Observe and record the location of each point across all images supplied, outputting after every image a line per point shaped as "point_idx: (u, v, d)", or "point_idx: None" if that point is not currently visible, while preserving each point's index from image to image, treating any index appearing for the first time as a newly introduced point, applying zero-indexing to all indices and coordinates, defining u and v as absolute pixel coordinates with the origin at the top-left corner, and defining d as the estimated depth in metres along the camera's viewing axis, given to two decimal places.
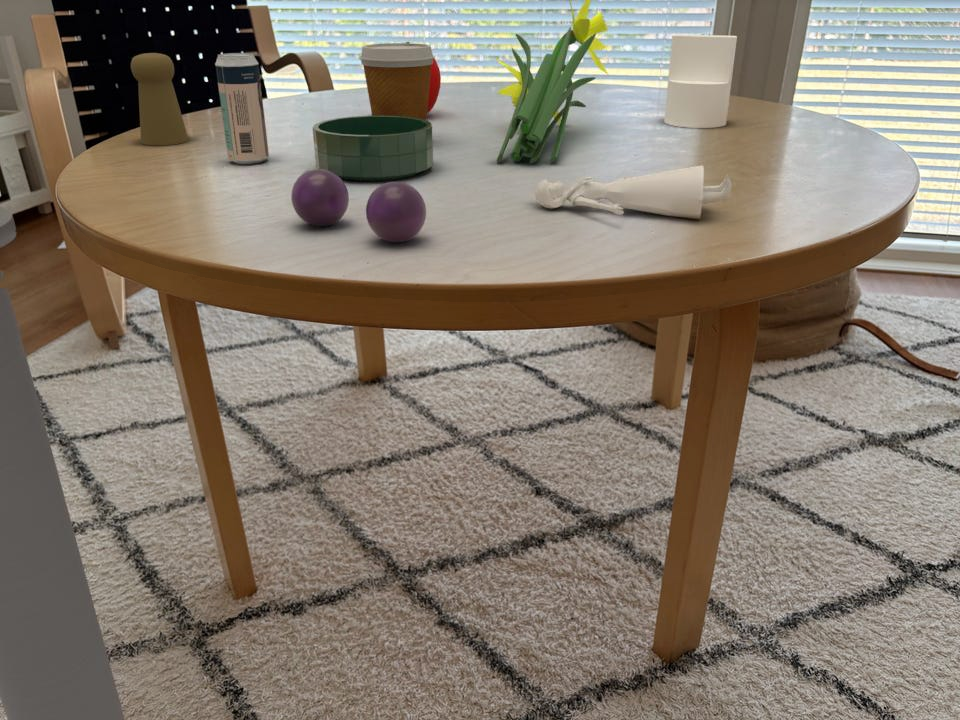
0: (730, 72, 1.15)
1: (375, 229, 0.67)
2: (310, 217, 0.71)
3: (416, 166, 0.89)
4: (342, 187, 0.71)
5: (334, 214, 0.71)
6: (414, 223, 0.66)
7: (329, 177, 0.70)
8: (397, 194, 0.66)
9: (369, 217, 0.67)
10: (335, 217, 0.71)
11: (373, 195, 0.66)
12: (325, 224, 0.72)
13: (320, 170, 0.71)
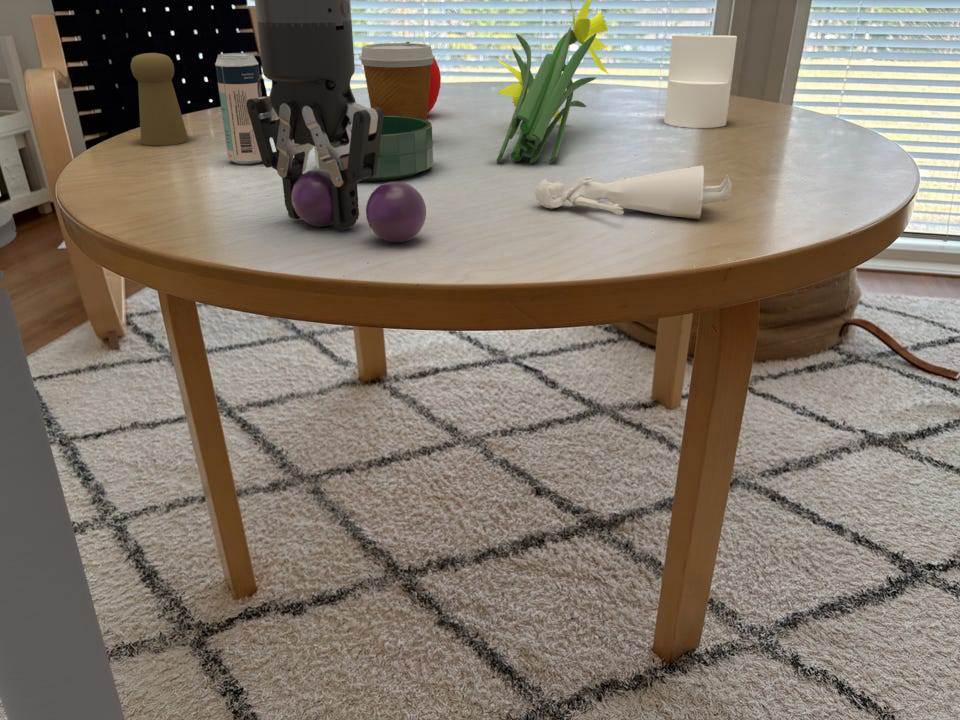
0: (730, 72, 1.15)
1: (375, 229, 0.67)
2: (310, 217, 0.71)
3: (416, 166, 0.89)
4: None
5: None
6: (414, 223, 0.66)
7: (329, 177, 0.70)
8: (397, 194, 0.66)
9: (369, 217, 0.67)
10: None
11: (373, 195, 0.66)
12: (325, 224, 0.72)
13: (320, 170, 0.71)
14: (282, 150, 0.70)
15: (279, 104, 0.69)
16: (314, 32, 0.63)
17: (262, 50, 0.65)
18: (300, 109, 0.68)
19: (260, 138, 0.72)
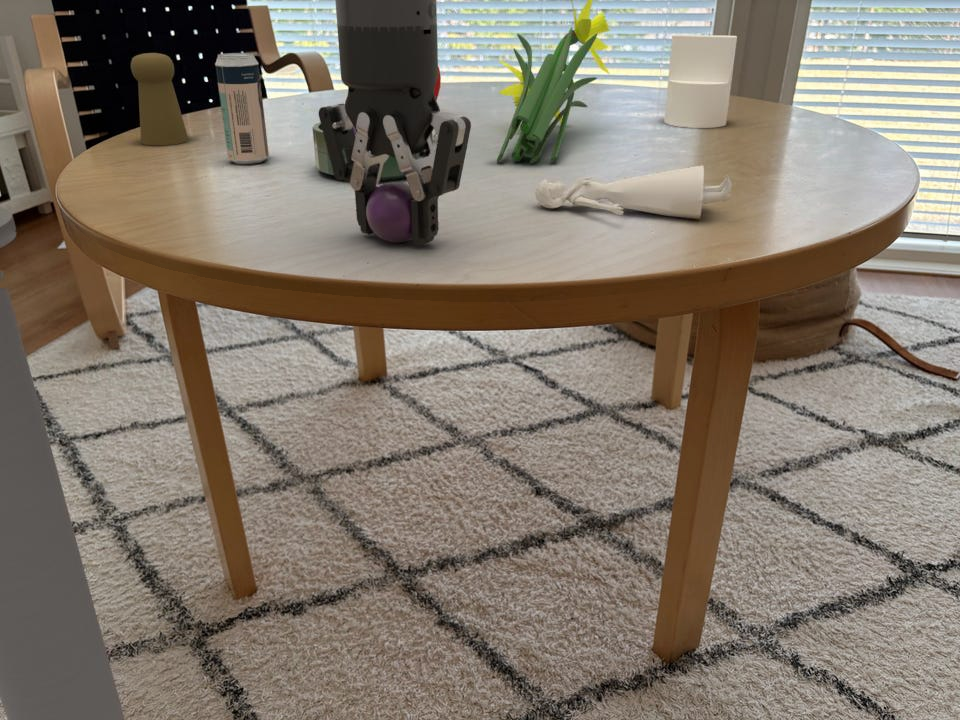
0: (730, 72, 1.15)
1: (375, 229, 0.67)
2: None
3: None
4: None
5: None
6: None
7: None
8: (397, 194, 0.66)
9: (369, 217, 0.67)
10: None
11: (373, 195, 0.66)
12: None
13: None
14: (358, 162, 0.66)
15: (356, 113, 0.65)
16: (401, 36, 0.59)
17: (343, 56, 0.61)
18: (379, 118, 0.64)
19: (332, 149, 0.68)
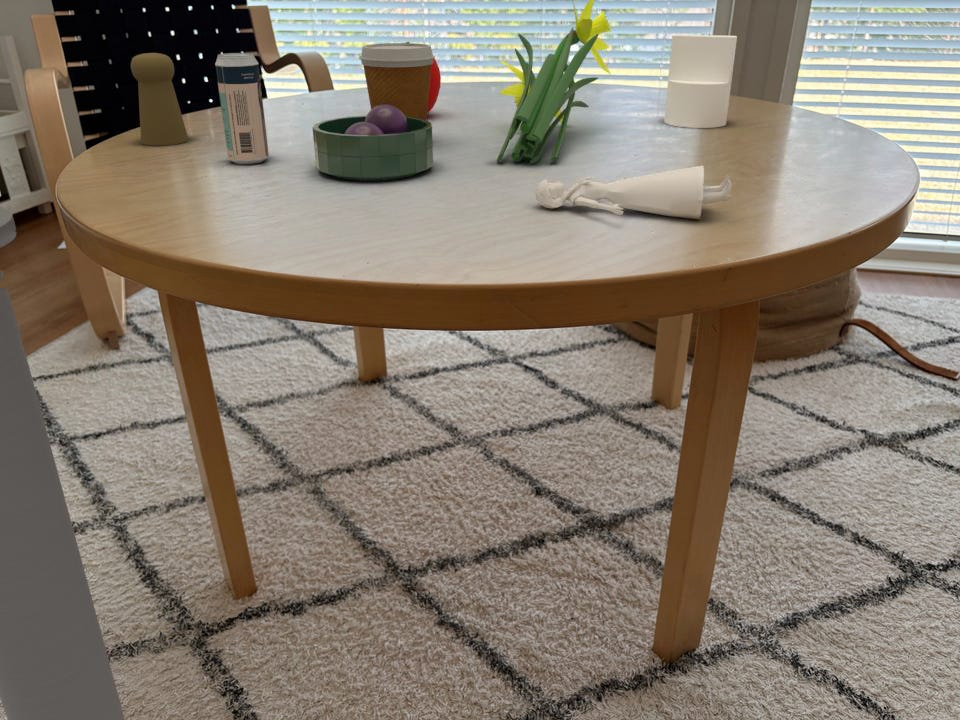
0: (730, 72, 1.15)
1: (372, 111, 0.92)
2: None
3: (416, 166, 0.89)
4: None
5: None
6: (400, 121, 0.92)
7: (370, 130, 0.88)
8: None
9: None
10: None
11: None
12: None
13: (363, 123, 0.89)
14: None
15: None
16: None
17: None
18: None
19: None
